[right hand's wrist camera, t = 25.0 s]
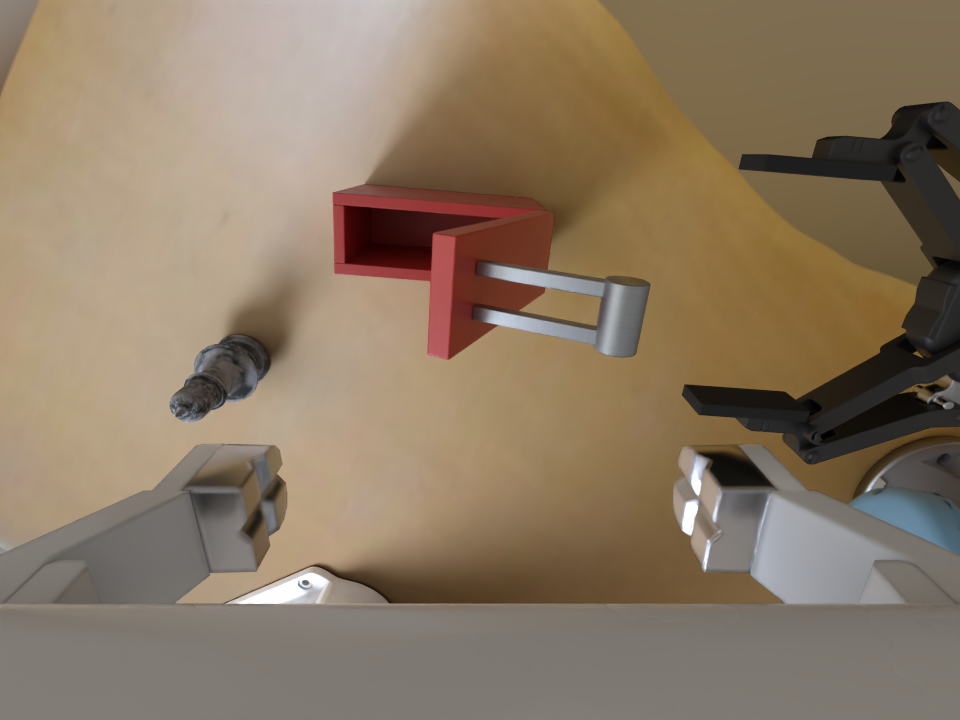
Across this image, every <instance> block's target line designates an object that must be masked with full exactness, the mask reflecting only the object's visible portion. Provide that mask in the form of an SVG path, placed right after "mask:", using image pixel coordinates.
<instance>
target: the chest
mask: <svg viewBox="0 0 960 720" xmlns="http://www.w3.org/2000/svg"><path fill="white" fill-rule="evenodd" d="M333 204H334V205H333V222H334V261H335V263H334V267H335V274H348V275H360V276H373V277H385V278H398V279H411V280H423V281H431V264H432V242H433V233H435V232H439V231H444V230H449V229H454V228H458V227H463V226H468V225H473V224H478V223H482V222H487V221H492V220H497V219H501V218H506V217H511V216H516V215H521V214H525V213H530V212H535V211H546V210H545V209H543V208H542V207H541V206H540V205H539V204H538V203H537V202H535V201H534V200H533V199H532V198H522V197H510V196H498V195H486V194H474V193H462V192H450V191H439V190H427V189H415V188H403V187H391V186H379V185H367V184H364V185H360V186H356V187H352V188H348V189H345V190H341V191H337V192H333Z"/></svg>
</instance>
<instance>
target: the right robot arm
mask: <svg viewBox="0 0 960 720" xmlns="http://www.w3.org/2000/svg"><path fill="white" fill-rule="evenodd" d="M281 466H282V459H281V454H280V450H279V449H278V448H277V447H276V446H275V445H241V444H227V445H225V444H201V445H196V446H195V447H194V448H193V449H192V450H191V451H190V452H189V453H188V454H187V455H186V456H185V457H184V458H183V459H182V460H181V461H180V462H179V464H178V465H177V466H176V467H175V468H174V469H173V470H172V471H171V472H170V473H169V474H168V475H167V476H166V477H165V478H164V479H163V480H162V481H161V482H160V483H159V484H158V485H157V486H156V487H155V488H154V489H153V490H152V491H142V492H139V493H137V494H135V495H133V496H130V497H128V498H126V499H124V500H121V501H119V502H117V503H115V504H113V505H110V506H108V507H106V508H104V509H101V510H99V511H97V512H95V513H92V514H90V515H88V516H86V517H83V518H81V519H79V520H77V521H74V522H72V523H70V524H68V525H65V526H63V527H61V528H59V529H56V530H54V531H52V532H50V533H48V534H45V535H43V536H41V537H39V538H36V539H34V540H32V541H30V542H27V543H25V544H23V545H21V546H18V547H16V548H14V549H12V550H9V551H7V552H5V553H3V554H0V720H960V555H959V554H957V553H955V552H952V551H950V550H948V549H946V548H943V547H941V546H939V545H937V544H935V543H932V542H930V541H928V540H926V539H923V538H921V537H919V536H917V535H914V534H912V533H910V532H908V531H906V530H903V529H901V528H899V527H897V526H894V525H892V524H890V523H888V522H885V521H883V520H881V519H879V518H876V517H874V516H872V515H870V514H868V513H865V512H863V511H861V510H859V509H856V508H854V507H852V506H850V505H847V504H845V503H843V502H841V501H838V500H836V499H834V498H832V497H830V496H827V495H825V494H823V493H821V492H818V491H808V490H807V489H806V488H805V487H804V486H803V485H802V484H801V483H800V482H799V481H798V480H797V479H796V478H795V477H794V476H793V475H792V474H791V473H790V472H789V471H788V470H787V468H786V467H785V466H784V465H783V464H782V463H781V462H780V461H779V460H778V459H777V458H776V457H775V456H774V455H773V454H772V453H771V452H770V451H769V450H768V449H767V448H766V447H765V446H763V445H760V444H737V445H698V446H683V447H682V449H681V451H680V453H679V458H678V466H679V467H680V469H681V471H682V472H683V474H682V475H681V477H680V478H679V479H678V480H677V481H676V482H675V483H674V489H673V496H672V498H673V510H674V514H675V517H676V521H677V523H678V525H679V527H680V528H681V530H682V531H684V532H685V533H687V534H688V535H690V536H691V542H690V547H691V549H692V551H693V553H694V555H695V556H696V558H697V560H698V562H699V564H700V566H701V567H702V569H703V571H704V572H735V573H750V576H752V577H753V578H754V579H756V580H757V581H758V582H759V583H761V584H762V585H763V586H764V587H766V588H767V589H768V590H770V591H771V592H772V593H773V594H775V595H776V596H777V597H778V598H780V599H781V600H782V601H784V602H785V603H786V604H389V603H388V601H387V600H386V599H385V598H384V597H382V596H381V595H380V594H379V593H377V592H376V591H374V590H373V589H371V588H369V587H367V586H365V585H362V584H359V583H356V582H352V581H348V580H344V579H341V578H338V577H336V576H334V575H333V574H331V573H329V572H328V571H326V570H324V569H322V568H319V567H309V568H307V569H304V570H302V571H300V572H297V573H295V574H293V575H290V576H288V577H286V578H283V579H281V580H279V581H276V582H274V583H272V584H270V585H267V586H265V587H263V588H260V589H258V590H256V591H253V592H251V593H249V594H246V595H244V596H242V597H239V598H237V599H235V600H232V601H230V602H228V603H225V604H174V603H175V602H177V601H178V600H179V599H180V598H182V597H183V596H184V595H186V594H187V593H188V592H189V591H191V590H192V589H193V588H194V587H196V586H197V585H198V584H200V583H201V582H202V581H203V580H205V579H206V578H207V577H208V576H210V573H225V572H256V571H257V569H258V568H259V566H260V564H261V562H262V560H263V558H264V556H265V555H266V553H267V551H268V549H269V547H270V542H269V536H270V535H272V534H273V533H275V532H276V531H278V530H279V528H280V526H281V524H282V522H283V520H284V518H285V513H286V509H287V488H286V483H285V482H284V481H283V480H282V479H281V478H280V477H279V476H278V474H277V472H278V471H279V469H280V467H281ZM306 580H307V581H306Z"/></svg>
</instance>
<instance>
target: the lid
mask: <svg viewBox="0 0 960 720" xmlns="http://www.w3.org/2000/svg"><path fill="white" fill-rule="evenodd" d="M554 216H555V213H554V212H548V211H535V212H530V213H525V214H521V215H516V216H511V217H506V218H501V219H497V220H492V221H487V222H482V223H478V224H473V225H468V226H463V227H458V228H454V229H449V230H444V231H439V232H435V233H433V242H432V264H431V286H430V308H429V331H428V355H431V356H435V357H439V358H443V359H447V360H449V359H451V358H452V357H454V356H455V355H456V354H458V353H459V352H461V351H462V350H463V349H465V348H466V347H468V346H469V345H471V344H472V343H473V342H475V341H476V340H478V339H479V338H481V337H482V336H483V335H485V334H486V333H488V332H489V331H491V330H492V329H493V328H495V327H496V326H498V325H501V326H506V327H511V328H516V329H520V330H525V331H530V332H535V333H540V334H545V335H549V336H554V337H559V338H564V339H569V340H574V341H578V342H583V343H588V344H593V347H594V349H595V350H596V351H598V352H600V353H602V354H605V355H609V356H613V357H632V356H634V355H635V354H636V352H637V347H638V343H639V338H640V333H641V328H642V323H643V319H644V314H645V309H646V304H647V299H648V295H649V290H650V283H649V282H647V281H645V280H642V279H638V278H633V277H627V276H608V277H606V278H605V279H601V278H594V277H588V276H582V275H576V274H570V273H564V272H557V271H551V270H548V262H549V254H550V247H551V239H552V231H553V224H554ZM545 288H551V289H557V290H563V291H568V292H574V293H580V294H585V295H591V296H597V297H602V298H601V304H600V309H599V315H598V321H597V326H593V325H588V324H583V323H577V322H572V321H567V320H562V319H557V318H552V317H547V316H541V315H536V314H531V313H526V312H521V311H519V310H521V309H522V308H523V307H525V306H526V305H528V304H529V303H530V302H532V301H533V300H535V299H536V298H538V297H539V296H540V295H542V294H543V293H544V292H545Z"/></svg>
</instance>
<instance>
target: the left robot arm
mask: <svg viewBox="0 0 960 720" xmlns="http://www.w3.org/2000/svg"><path fill="white" fill-rule="evenodd" d="M891 122H892V128H891V129H890V130H889V132H888V133H887V134H886V135H885V136H884V137H882V138H880V139H875V138H864V137H853V136H833V137H825V138H822V139H819V140H817V142H816V145H815V149H814V152H813V156H812V158H804V157H792V156H781V155H769V154H743V155H742V157H741V161H740V165H739V169H742V170H754V171H765V172H777V173H789V174H800V175H812V176H824V177H836V178H848V179H860V180H875V181H881V183H882V184H883V186H884V187H885V189H886V190H887V192H888V193H889V194H890V196H891V197H892V199H893V200H894V202H895V203H896V205H897V206H898V208H899V209H900V211H901V212H902V213H903V215H904V217H905V218H906V220H907V221H908V223H909V224H910V225H911V227H912V228H913V230H914V231H915V233H916V234H917V236H918V237H919V239H920V240H921V242H922V243H923V245H922V246H921V247H920V248H921V250H922V252H923V253H924V255H925V256H926V258H927V259H928V261H929V262H930V264H931V265H932V267H933V268H934V270H933V271H932V272H931V273H930V274H929V275H928V276H927V277H922V278H921V280H920V283H919V285H918V287H917V291H916V299H915V303H914V305H913V306H912V308H911V309H910V311H909V312H908V313H907V315H906V317H905V320H904V322H903V325H902V328H904V329H906V333H904V334H902V335H900V336H899V337H897V338H895V339H893V340H891V341H890V342H888V343H886V344H884V345H883V346H881V348H880V353H879V354H877V355H875V356H874V357H872V358H870V359H868V360H866V361H865V362H863V363H861V364H859V365H857V366H856V367H854V368H852V369H850V370H848V371H847V372H845V373H843V374H841V375H839V376H838V377H836V378H834V379H832V380H830V381H829V382H827V383H825V384H823V385H821V386H820V387H818V388H816V389H814V390H812V391H811V392H809V393H807V394H805V395H803V396H802V397H800V398H798V399H796V400H795V399H794V398H792V397H791V396H790V395H789V394H787V393H786V392H783V391H769V390H755V389H741V388H727V387H714V386H700V385H686V384H685V385H684V389H683V393H682V396H683V397H684V398H685V399H686V400H687V402H688V403H689V404H690V405H691V406H692V408H693V409H694V410H695V411H696V412H697V414H698V415H707V416H721V417H735V418H736V419H737V420H738V421H739V422H740V423H741V424H742V425H743V426H744V427H745V428H747V429H749V430H751V431H762V432H776V433H784V434H783V437H782V439H783V441H784V443H785V444H787V445H788V446H789V447H790V448H791V449H792V450H793V451H794V452H795V453H796V454H797V455H798V456H799V457H800V458H801V459H802V460H803V461H804V462H806V463H807V464H816V463H819V462H823V461H826V460H829V459H832V458H835V457H839V456H842V455H845V454H848V453H851V452H854V451H858V450H861V449H864V448H867V447H870V446H874V445H877V444H880V443H883V442H886V441H890V440H893V439H896V438H899V437H902V436H905V435H909V434H912V433H915V432H918V431H921V430H925V429H928V428H931V427H960V200H959V198H958V197H957V195H956V193H955V192H954V190H953V189H952V187H951V185H950V184H949V182H948V181H947V179H946V178H945V176H944V174H943V173H942V171H941V170H940V168H939V166H941V167H942V168H943V169H944V170H945V171H947V172H948V173H949V174H950V175H952V176H953V177H954V178H955V179H957V180H958V181H959V182H960V110H959V109H958V108H957V107H956V106H954V105H953V104H952V103H950V102H938V103H928V104H919V105H911V106H904V107H901V108H899V109H898V110H897V111H896V112H895V114H894V115H893V117H892V121H891ZM937 164H938V165H939V166H938V165H937ZM916 351H918V353H919V354H920V355H921V356H922V357H923V358H921V357H919V356H917V355H914V354H912V353H914V352H916ZM937 380H938V381H937ZM935 381H937V382H935ZM932 382H935V383H934V384H932V385H929V386H925V387H923V386H921V385H918V386H915V387H914V389H913V392H908V393H901V394H898V393H900V392H902V391H904V390H906V389H908V388H910V387H912V386H913V385H916V384H919V383H923V384H928V383H932ZM847 505H850V506H852V507H854V508H856V509H859V510H861V511H863V512H865V513H868V514H870V515H872V516H874V517H876V518H879V519H881V520H883V521H885V522H888V523H890V524H892V525H894V526H897V527H899V528H901V529H903V530H906V531H908V532H910V533H912V534H914V535H917V536H919V537H921V538H923V539H926V540H928V541H930V542H932V543H935V544H937V545H939V546H941V547H943V548H946V549H948V550H950V551H952V552H955V553H957V554H959V555H960V438H957V437H948V436H944V437H931V438H926V439H922V440H918V441H915V442H912V443H909V444H907V445H904V446H902V447H900V448H898V449H896V450H894V451H893V452H891V453H889V454H888V455H886V456H885V457H884V458H882V459H881V460H880V461H878V462H877V463H876V464H875V465H874V466H873V467H872V468H871V469H870V470H869V471H868V472H867V473H866V475H865V476H864V477H863V479H862V480H861V482H860V483H859V485H858V487H857V489H856V491H855V493H854V496H853V500H852V501H851V502H849V503H848V504H847Z"/></svg>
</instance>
